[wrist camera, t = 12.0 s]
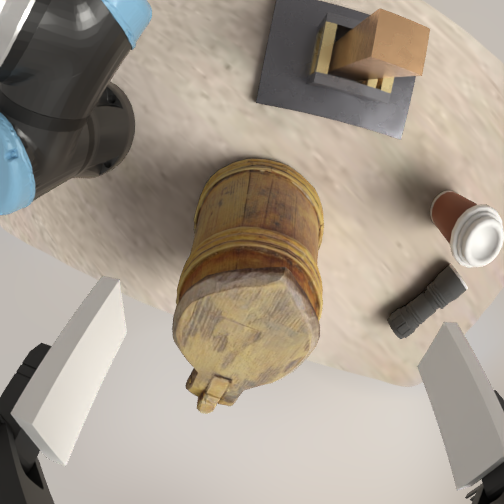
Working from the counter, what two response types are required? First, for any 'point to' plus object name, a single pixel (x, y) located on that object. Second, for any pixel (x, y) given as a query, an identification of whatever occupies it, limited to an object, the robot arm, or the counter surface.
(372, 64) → the tapered wooden post
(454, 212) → the coffee cup
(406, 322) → the flashlight
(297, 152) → the counter surface
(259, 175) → the tankard
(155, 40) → the counter surface
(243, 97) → the counter surface
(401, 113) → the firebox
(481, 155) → the counter surface
